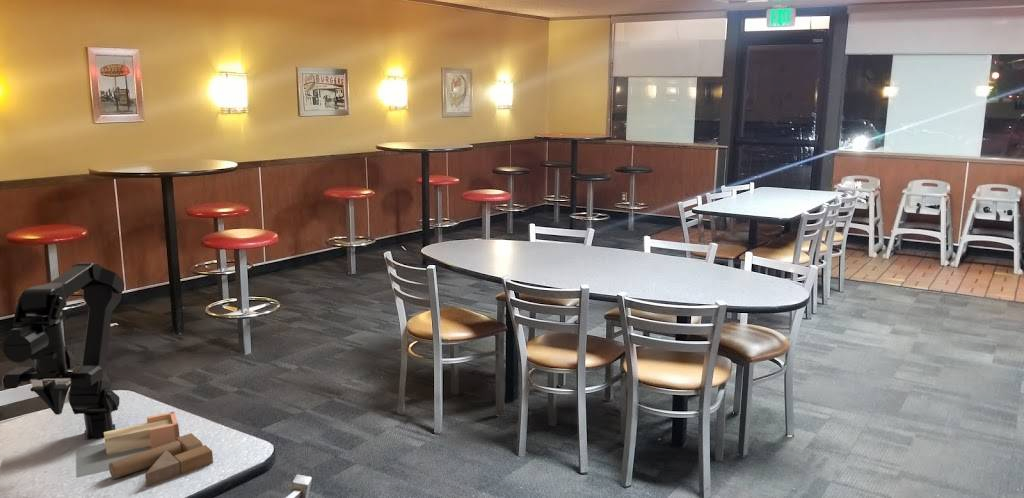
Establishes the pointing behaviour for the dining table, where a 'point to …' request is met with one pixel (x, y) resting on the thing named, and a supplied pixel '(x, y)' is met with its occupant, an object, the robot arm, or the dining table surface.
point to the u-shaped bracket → (163, 430)
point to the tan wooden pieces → (165, 460)
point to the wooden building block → (131, 437)
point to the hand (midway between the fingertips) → (58, 413)
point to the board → (99, 458)
